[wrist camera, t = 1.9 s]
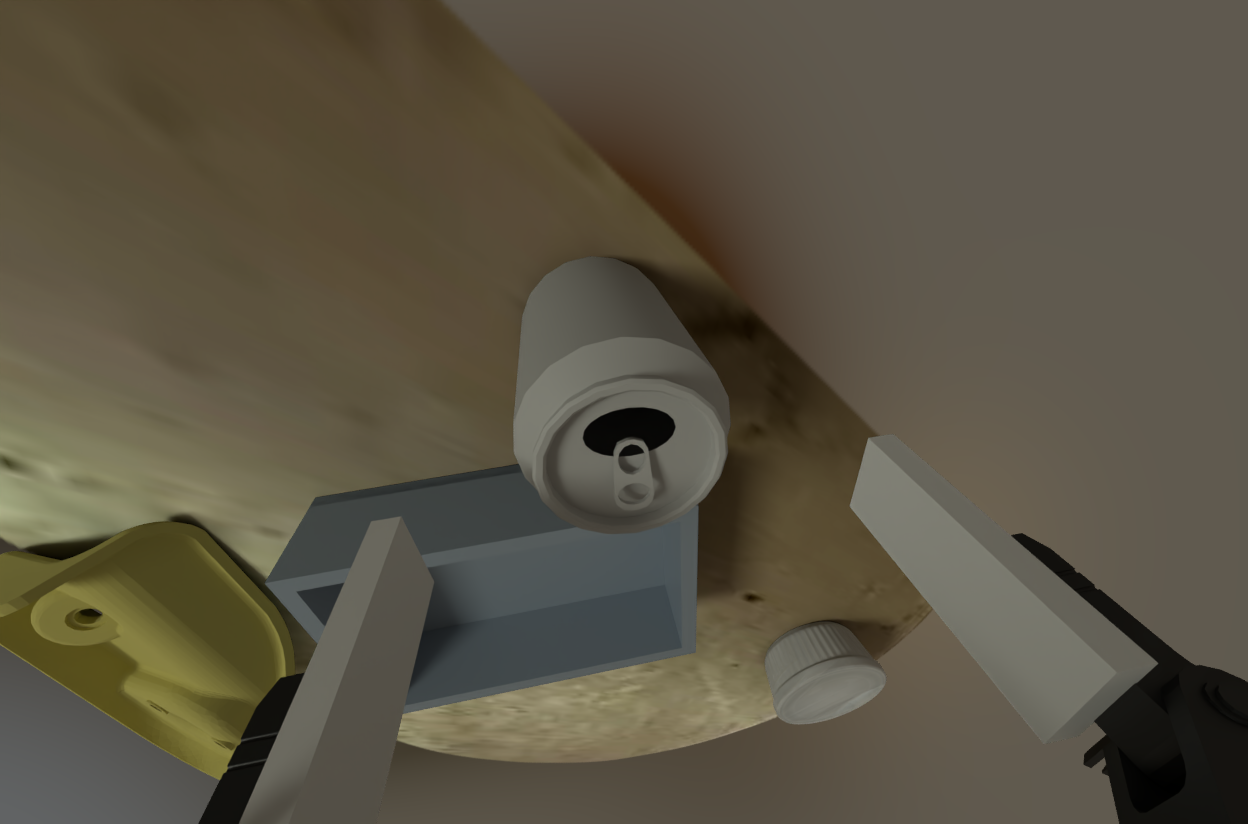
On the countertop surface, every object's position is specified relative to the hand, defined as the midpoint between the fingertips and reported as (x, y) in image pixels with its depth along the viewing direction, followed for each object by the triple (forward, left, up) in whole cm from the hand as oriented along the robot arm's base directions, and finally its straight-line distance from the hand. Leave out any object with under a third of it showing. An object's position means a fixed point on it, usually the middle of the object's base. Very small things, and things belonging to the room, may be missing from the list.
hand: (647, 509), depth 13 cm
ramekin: (+39, +18, -14) cm, 45 cm away
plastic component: (+17, -31, -14) cm, 38 cm away
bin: (+16, -7, -13) cm, 22 cm away
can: (0, 0, -14) cm, 14 cm away
